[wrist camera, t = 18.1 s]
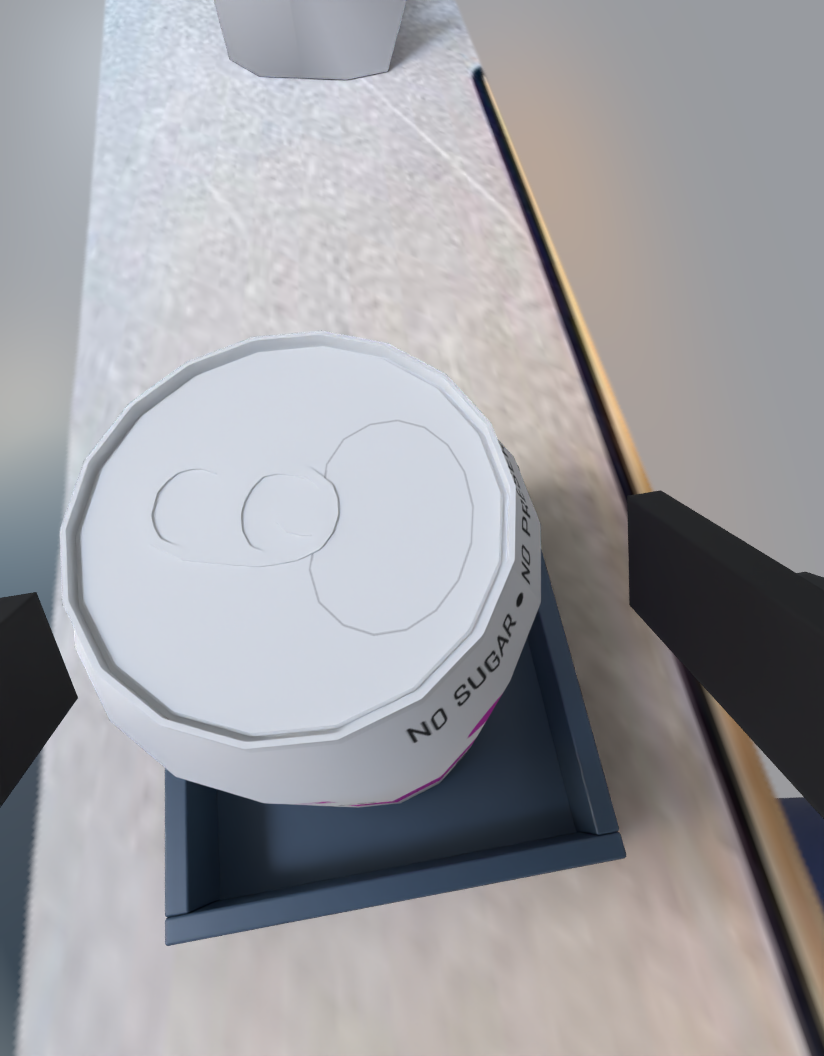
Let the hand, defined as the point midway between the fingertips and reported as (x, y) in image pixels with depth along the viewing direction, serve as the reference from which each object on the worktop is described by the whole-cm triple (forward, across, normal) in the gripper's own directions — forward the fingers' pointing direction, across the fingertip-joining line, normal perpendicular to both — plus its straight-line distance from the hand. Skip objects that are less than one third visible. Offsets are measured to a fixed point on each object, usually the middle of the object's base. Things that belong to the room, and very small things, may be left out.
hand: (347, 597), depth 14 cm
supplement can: (+7, 0, -7) cm, 10 cm away
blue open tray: (+8, 0, -8) cm, 11 cm away
